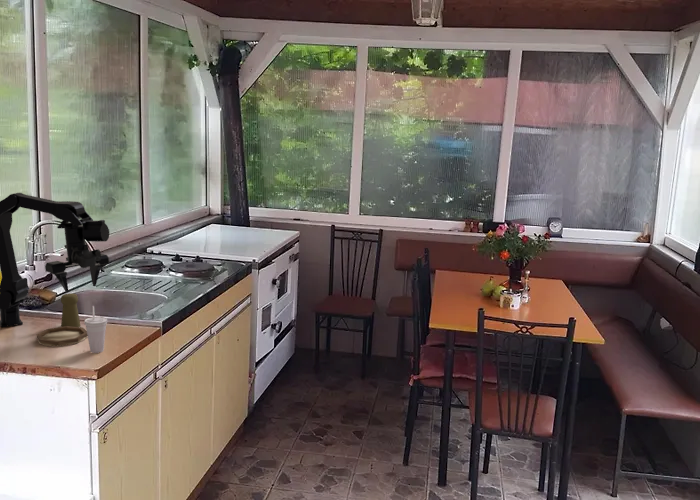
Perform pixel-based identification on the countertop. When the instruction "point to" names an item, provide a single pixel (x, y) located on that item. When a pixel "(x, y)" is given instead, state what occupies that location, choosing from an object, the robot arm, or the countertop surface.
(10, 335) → the countertop surface
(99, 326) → the smoothie
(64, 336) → the tray
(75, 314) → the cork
